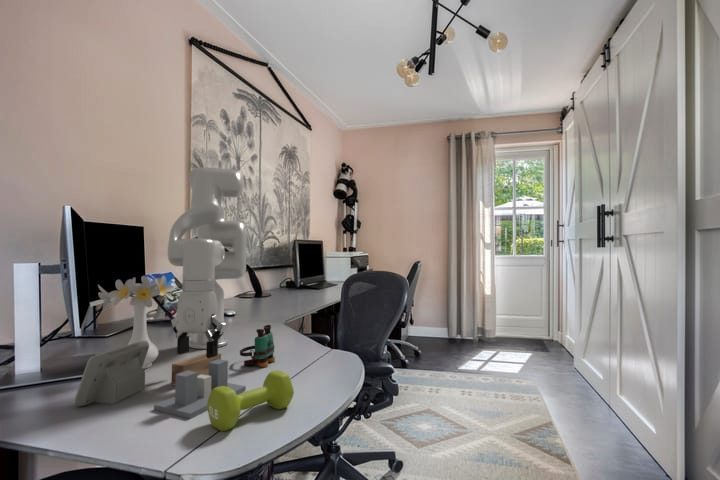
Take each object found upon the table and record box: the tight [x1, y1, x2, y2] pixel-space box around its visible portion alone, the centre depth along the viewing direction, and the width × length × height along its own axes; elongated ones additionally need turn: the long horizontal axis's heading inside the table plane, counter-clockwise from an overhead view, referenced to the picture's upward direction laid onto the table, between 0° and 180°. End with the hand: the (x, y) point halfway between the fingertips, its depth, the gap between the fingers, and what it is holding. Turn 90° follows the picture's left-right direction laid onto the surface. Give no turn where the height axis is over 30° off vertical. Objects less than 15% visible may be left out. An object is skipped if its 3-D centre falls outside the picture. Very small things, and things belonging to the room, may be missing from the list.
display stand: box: [153, 358, 247, 420], centre depth 83 cm, size 10×16×7 cm, turn 157°
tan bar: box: [170, 352, 222, 385], centre depth 97 cm, size 4×12×5 cm, turn 156°
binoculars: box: [239, 324, 276, 368], centre depth 110 cm, size 9×11×10 cm
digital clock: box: [74, 341, 149, 407], centre depth 86 cm, size 16×9×11 cm, turn 158°
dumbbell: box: [207, 369, 295, 432], centre depth 76 cm, size 16×8×7 cm, turn 138°
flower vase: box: [97, 275, 176, 370], centre depth 105 cm, size 13×18×25 cm
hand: (197, 354), depth 96 cm, fingers open, 9 cm apart
